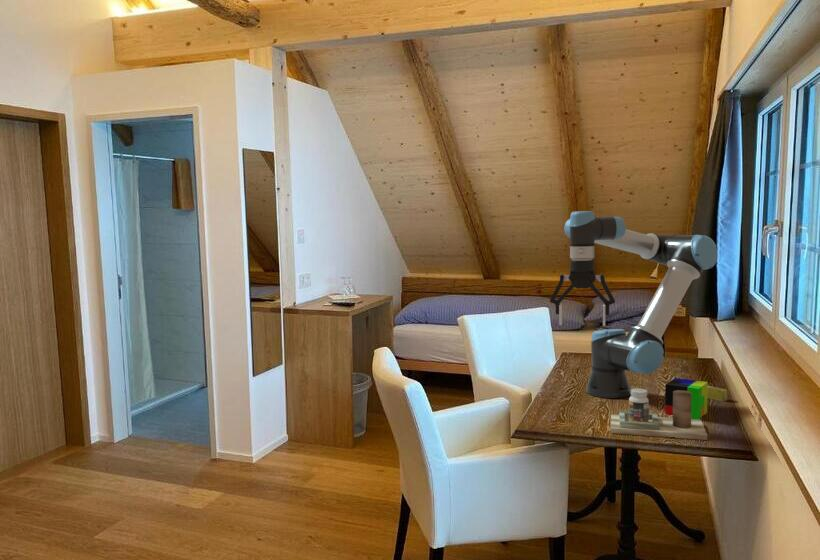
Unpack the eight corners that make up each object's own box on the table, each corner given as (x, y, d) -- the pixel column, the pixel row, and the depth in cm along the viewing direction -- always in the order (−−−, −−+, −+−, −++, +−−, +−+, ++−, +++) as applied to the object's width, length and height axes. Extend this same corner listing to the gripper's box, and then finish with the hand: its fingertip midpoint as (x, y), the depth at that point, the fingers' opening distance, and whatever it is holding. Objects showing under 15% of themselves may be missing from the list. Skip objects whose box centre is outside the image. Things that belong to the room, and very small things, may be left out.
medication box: (691, 394, 227) (691, 383, 227) (695, 393, 229) (695, 382, 228) (723, 402, 217) (723, 390, 217) (727, 400, 219) (728, 389, 218)
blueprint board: (610, 418, 202) (611, 383, 201) (700, 424, 194) (701, 387, 193) (610, 433, 189) (610, 394, 188) (707, 440, 181) (707, 400, 180)
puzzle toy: (675, 407, 213) (675, 377, 212) (707, 412, 206) (707, 382, 205) (665, 414, 205) (665, 384, 204) (698, 420, 199) (698, 388, 198)
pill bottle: (625, 422, 193) (625, 390, 192) (633, 418, 197) (634, 386, 196) (643, 426, 189) (643, 393, 188) (652, 422, 193) (652, 389, 192)
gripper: (541, 260, 206) (541, 325, 208) (623, 260, 198) (622, 327, 200) (543, 258, 213) (544, 322, 215) (622, 258, 206) (622, 323, 208)
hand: (582, 324), depth 208 cm, fingers open, 13 cm apart
